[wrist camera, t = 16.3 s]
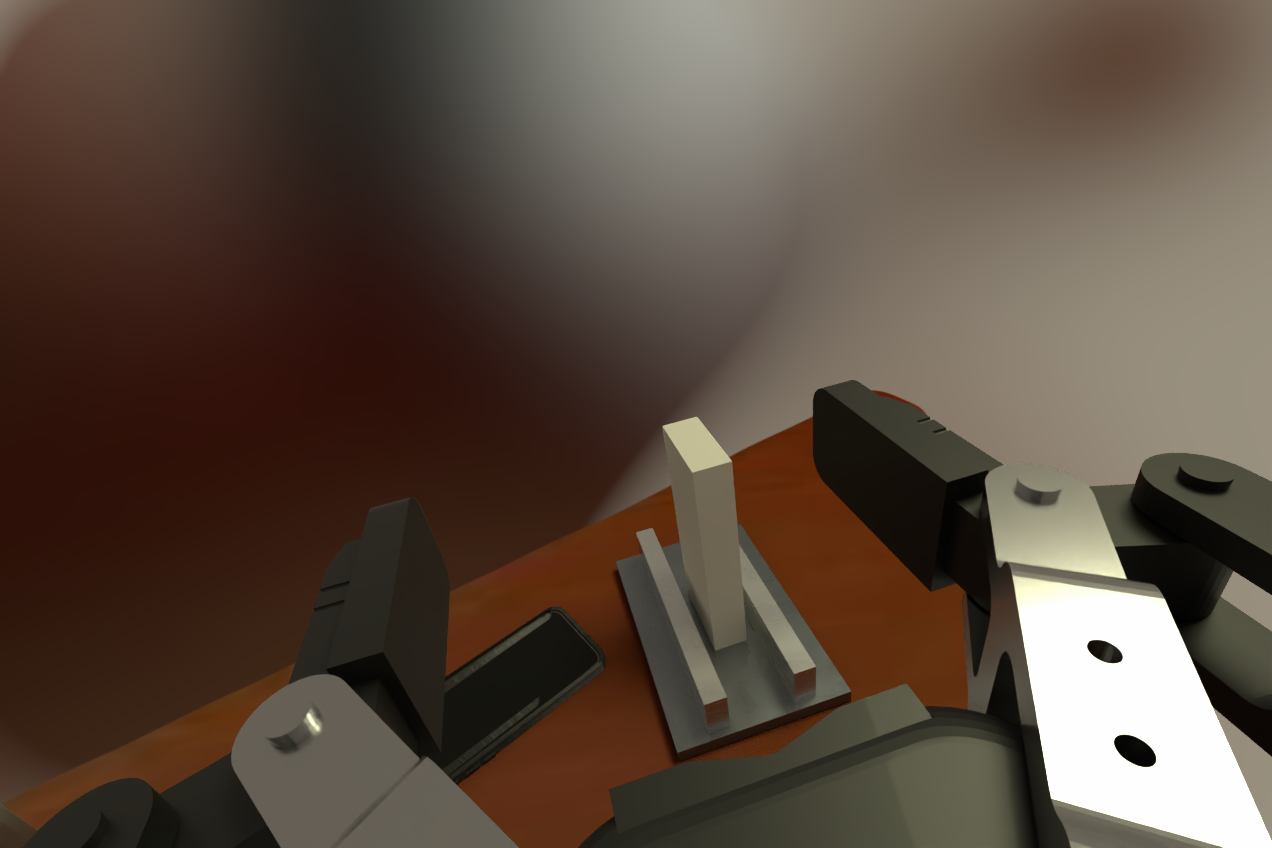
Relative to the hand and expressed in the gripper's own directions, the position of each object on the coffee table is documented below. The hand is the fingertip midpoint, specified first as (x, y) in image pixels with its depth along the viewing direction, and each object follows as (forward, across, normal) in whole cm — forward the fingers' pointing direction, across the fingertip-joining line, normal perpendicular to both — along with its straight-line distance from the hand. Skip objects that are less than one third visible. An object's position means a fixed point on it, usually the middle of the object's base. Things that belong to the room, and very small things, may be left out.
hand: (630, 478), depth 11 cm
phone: (+20, +10, +31) cm, 38 cm away
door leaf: (+20, -7, +29) cm, 36 cm away
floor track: (+20, -7, +30) cm, 37 cm away
